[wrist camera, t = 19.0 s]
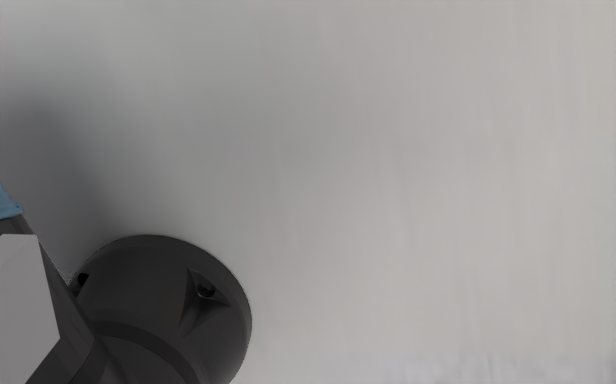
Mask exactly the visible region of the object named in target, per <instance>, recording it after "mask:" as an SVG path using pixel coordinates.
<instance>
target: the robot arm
mask: <svg viewBox="0 0 616 384" xmlns="http://www.w3.org/2000/svg"><path fill="white" fill-rule="evenodd" d="M23 212H24V209H23V207H22V206H21V204H19V203H17V202H14V201H13V200H12V198H11V197H10V196H9V194H8V193H7V192H6V190H5V189H4V187H3V186H2V185H1V183H0V384H229V383H230V381H231V380H232V379H233V378H234V377H235V375H236V374H237V372H238V370H239V369H240V367H241V365H242V363H243V360H244V358H245V354H246V351H247V348H248V344H249V341H250V337H251V330H252V318H251V311H250V307H249V304H248V301H247V298H246V296H245V294H244V292H243V290H242V288H241V286H240V285H239V283H238V282H237V280H236V279H235V278H234V276H233V275H232V274H231V273H230V272H229V271H228V270H227V269H226V268H225V267H224V266H223V265H222V264H221V263H220V262H219V261H217V260H216V259H215V258H213V257H212V256H211V255H209V254H208V253H206V252H204V251H203V250H201V249H199V248H197V247H195V246H193V245H190V244H188V243H185V242H183V241H179V240H176V239H172V238H167V237H161V236H133V237H128V238H124V239H120V240H117V241H114V242H112V243H110V244H108V245H106V246H104V247H102V248H101V249H99V250H98V251H97V252H95V253H94V254H93V255H92V256H91V257H90V258H89V259H88V260H87V261H86V262H85V263H84V264H83V265H82V267H81V268H80V269H79V270H78V271H77V272H76V273H75V275H74V276H73V278H72V279H71V281H70V282H69V284H68V286H67V285H66V283H65V282H64V280H63V279H62V277H61V276H60V274H59V273H58V271H57V269H56V268H55V266H54V265H53V263H52V262H51V260H50V258H49V257H48V255H47V254H46V252H45V251H44V249H43V247H42V246H41V244H40V243H39V241H38V238H37V235H34V233H33V232H32V230H31V228H30V227H29V225H28V224H27V222H26V221H25V219H24V217H23V216H22V214H21V213H23Z"/></svg>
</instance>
